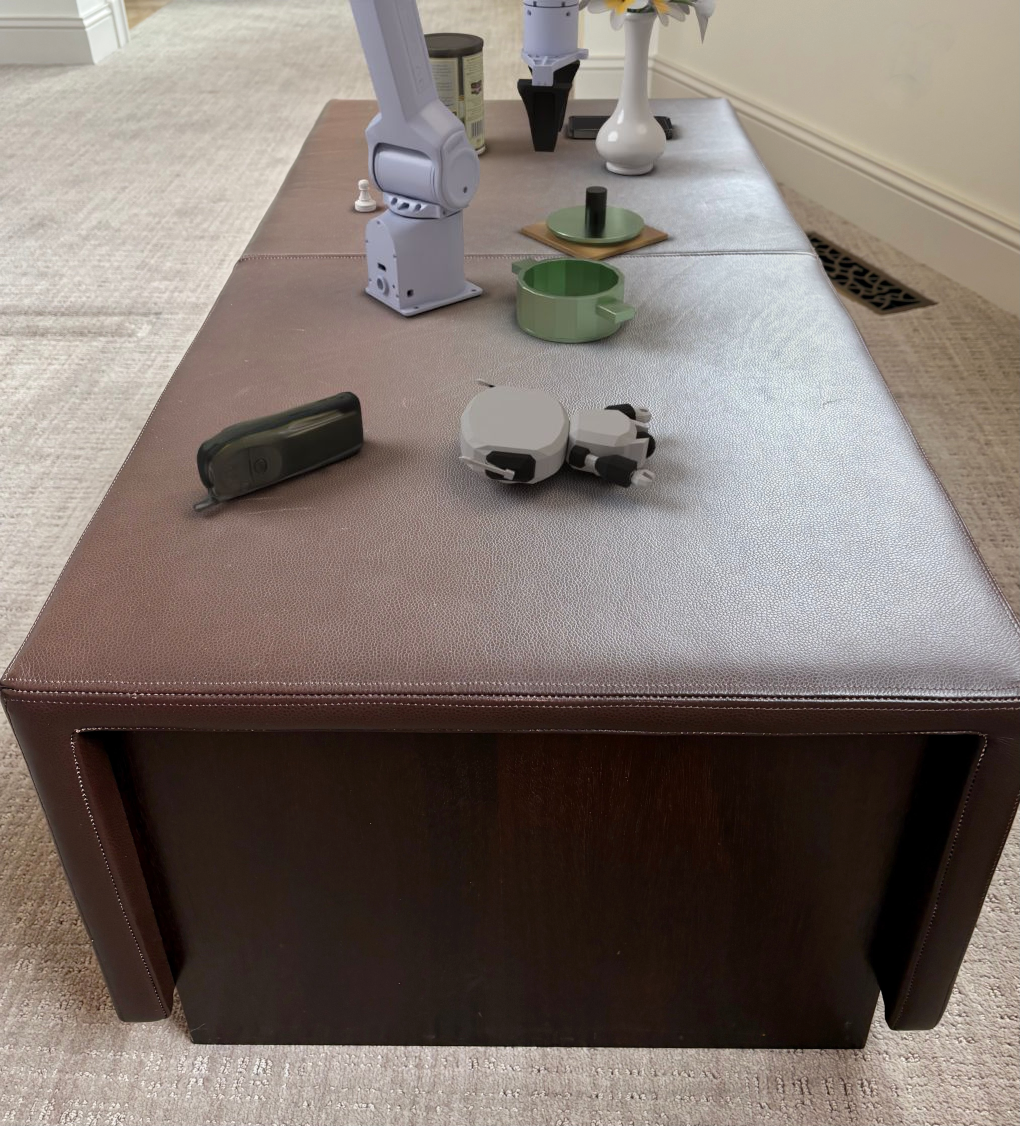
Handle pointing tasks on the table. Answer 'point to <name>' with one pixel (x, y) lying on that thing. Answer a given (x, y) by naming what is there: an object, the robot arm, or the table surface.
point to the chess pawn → (365, 198)
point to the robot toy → (552, 438)
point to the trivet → (593, 249)
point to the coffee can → (460, 79)
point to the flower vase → (638, 81)
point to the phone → (592, 124)
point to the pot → (570, 299)
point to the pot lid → (595, 220)
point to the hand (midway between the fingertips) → (548, 140)
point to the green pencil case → (279, 447)
